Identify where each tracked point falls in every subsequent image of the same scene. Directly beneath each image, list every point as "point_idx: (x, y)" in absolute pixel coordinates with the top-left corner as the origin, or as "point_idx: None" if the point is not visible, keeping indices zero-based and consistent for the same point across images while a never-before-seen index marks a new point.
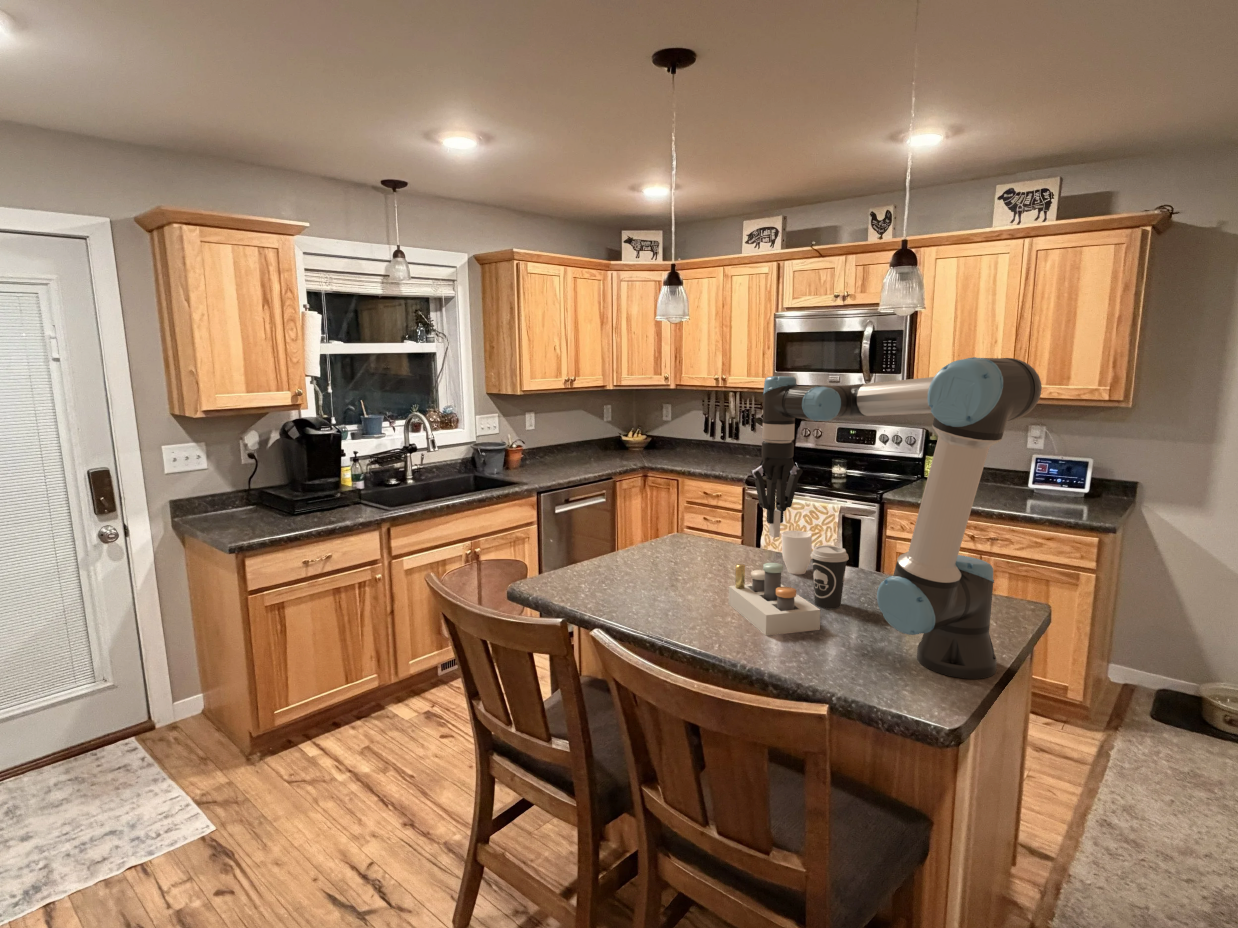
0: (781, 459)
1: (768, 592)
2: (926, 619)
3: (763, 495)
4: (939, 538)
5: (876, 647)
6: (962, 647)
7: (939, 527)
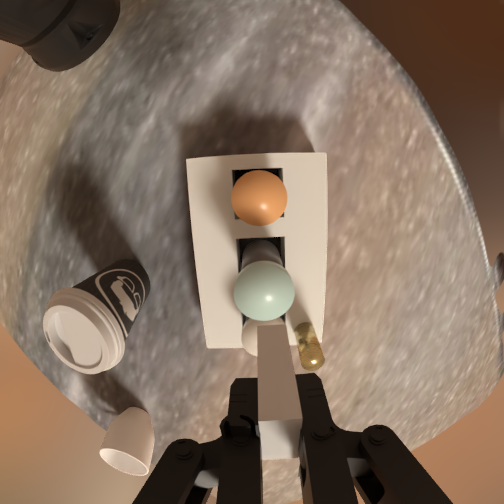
0: None
1: (278, 254)
2: None
3: (428, 494)
4: None
5: (139, 72)
6: None
7: None
